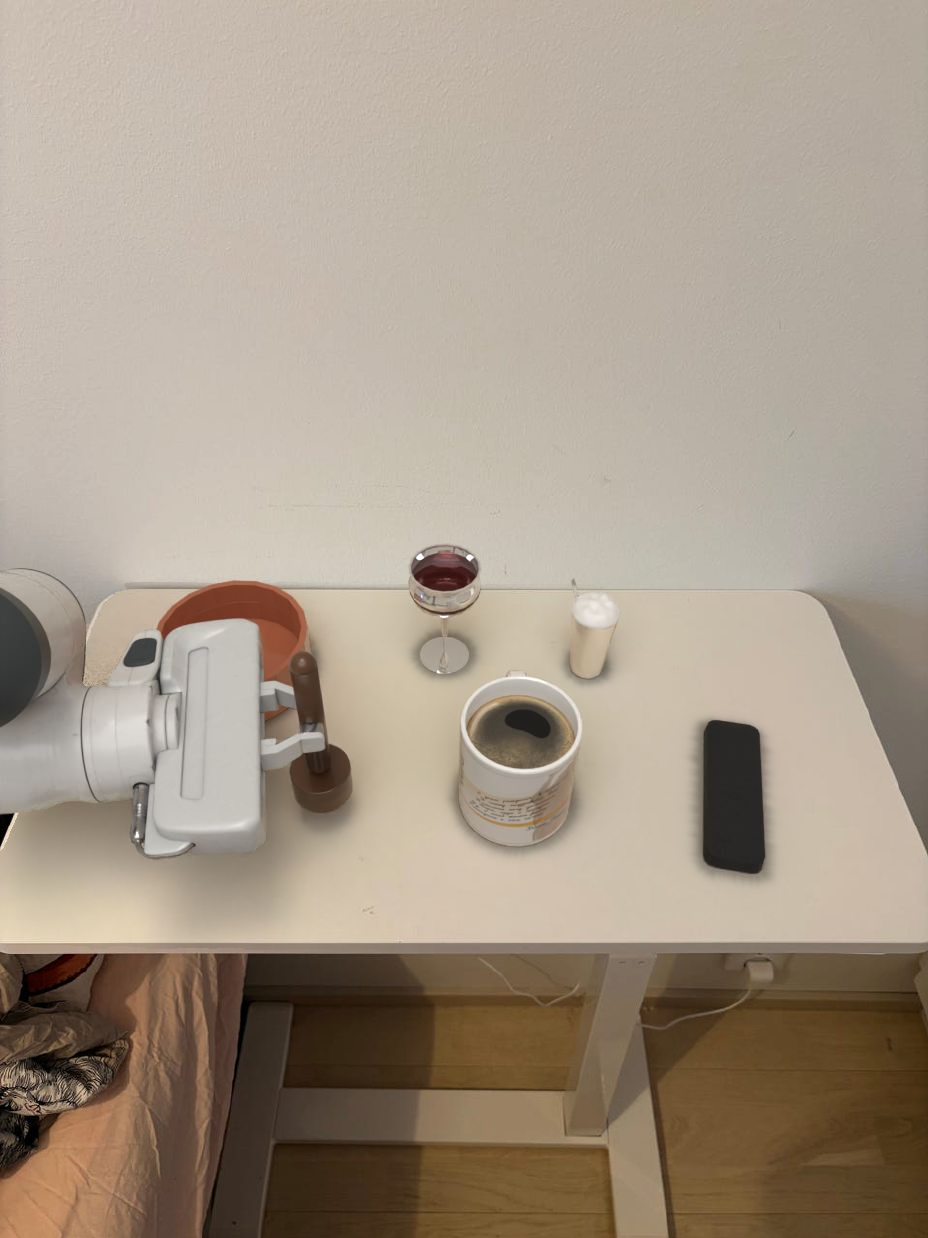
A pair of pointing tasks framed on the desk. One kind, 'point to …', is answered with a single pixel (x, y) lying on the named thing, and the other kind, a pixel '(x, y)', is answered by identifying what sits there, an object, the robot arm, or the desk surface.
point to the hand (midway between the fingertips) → (323, 718)
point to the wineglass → (444, 598)
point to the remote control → (733, 797)
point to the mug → (518, 759)
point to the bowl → (256, 604)
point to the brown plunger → (321, 773)
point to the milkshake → (591, 631)
